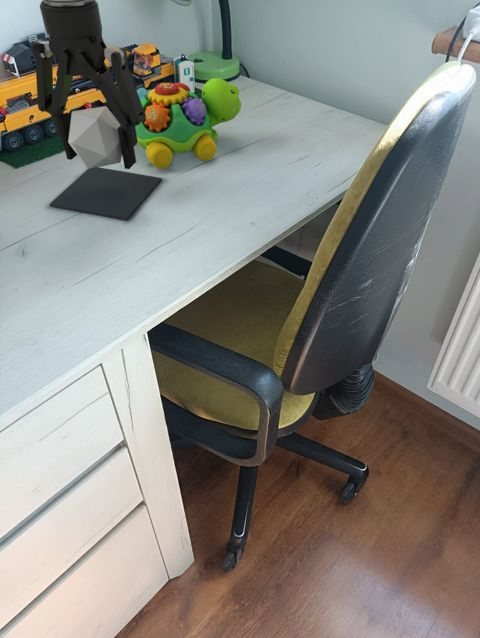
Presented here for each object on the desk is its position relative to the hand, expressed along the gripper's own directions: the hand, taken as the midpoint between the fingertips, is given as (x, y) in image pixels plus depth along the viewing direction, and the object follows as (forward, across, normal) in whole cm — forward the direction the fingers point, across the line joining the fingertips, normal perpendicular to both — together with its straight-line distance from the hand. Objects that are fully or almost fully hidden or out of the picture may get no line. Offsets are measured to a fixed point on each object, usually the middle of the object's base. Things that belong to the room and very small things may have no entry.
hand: (101, 160), depth 84 cm
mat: (+6, 0, 0) cm, 6 cm away
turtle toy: (+6, +6, +21) cm, 23 cm away
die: (0, 0, 0) cm, 0 cm away
